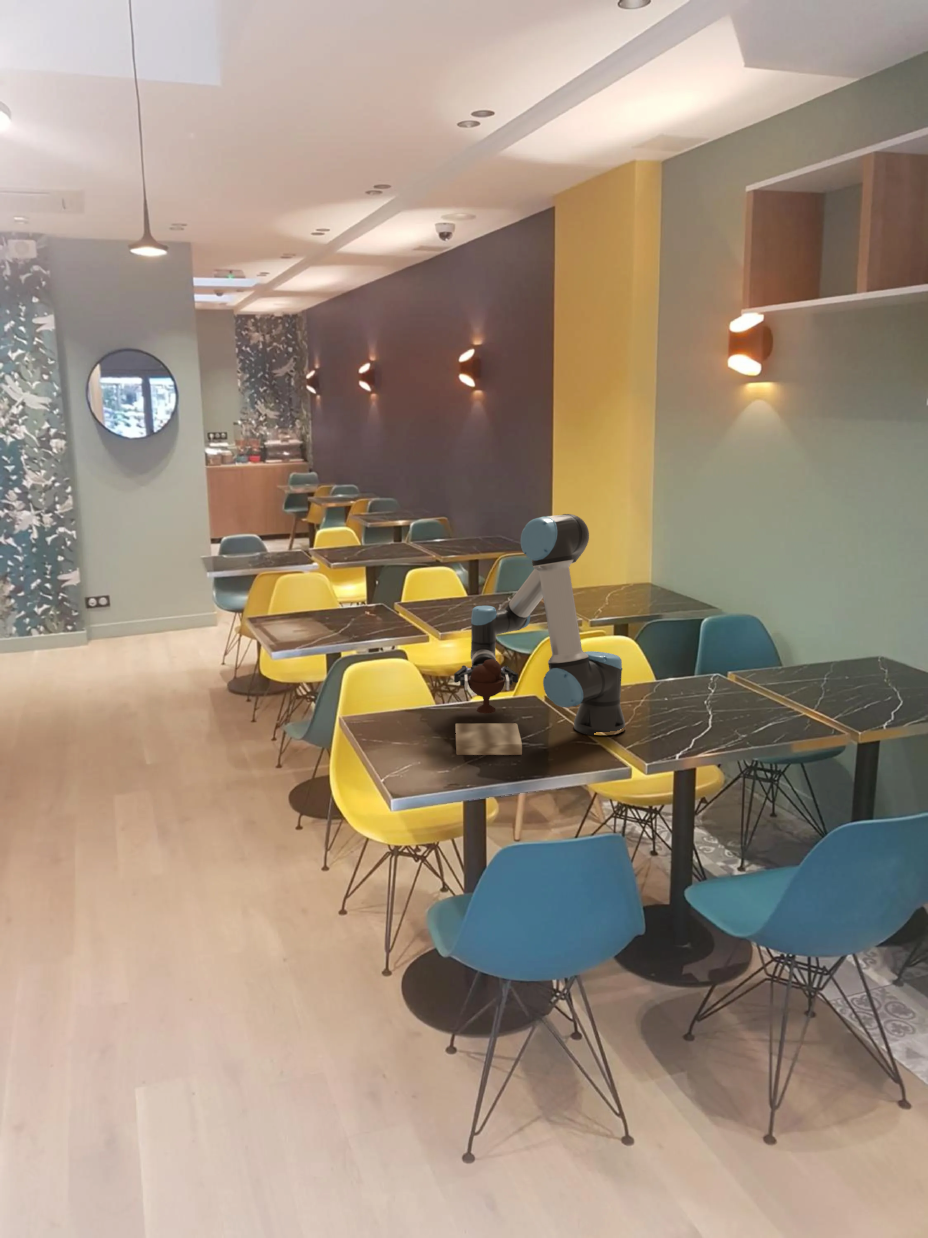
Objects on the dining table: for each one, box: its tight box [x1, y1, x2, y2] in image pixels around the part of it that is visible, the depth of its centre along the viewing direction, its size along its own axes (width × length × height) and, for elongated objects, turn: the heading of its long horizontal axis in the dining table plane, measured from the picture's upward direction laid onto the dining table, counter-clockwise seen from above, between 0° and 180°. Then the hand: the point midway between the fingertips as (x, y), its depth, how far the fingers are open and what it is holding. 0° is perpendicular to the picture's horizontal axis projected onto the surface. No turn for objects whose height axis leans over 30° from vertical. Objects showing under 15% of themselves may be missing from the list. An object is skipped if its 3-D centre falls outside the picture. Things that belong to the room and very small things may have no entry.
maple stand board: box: [454, 722, 523, 756], centre depth 279 cm, size 18×18×3 cm
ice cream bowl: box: [468, 659, 506, 714], centre depth 277 cm, size 11×11×15 cm
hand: (487, 685), depth 273 cm, fingers closed on ice cream bowl, 11 cm apart
